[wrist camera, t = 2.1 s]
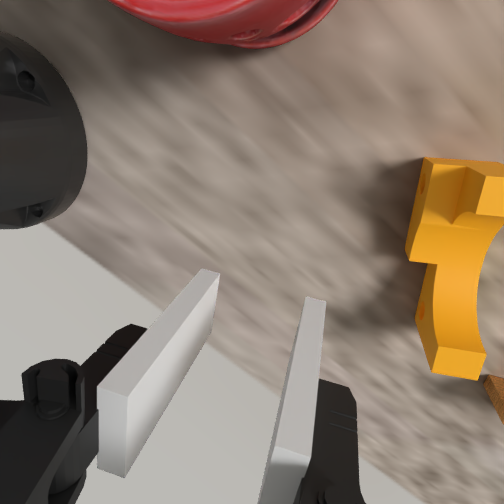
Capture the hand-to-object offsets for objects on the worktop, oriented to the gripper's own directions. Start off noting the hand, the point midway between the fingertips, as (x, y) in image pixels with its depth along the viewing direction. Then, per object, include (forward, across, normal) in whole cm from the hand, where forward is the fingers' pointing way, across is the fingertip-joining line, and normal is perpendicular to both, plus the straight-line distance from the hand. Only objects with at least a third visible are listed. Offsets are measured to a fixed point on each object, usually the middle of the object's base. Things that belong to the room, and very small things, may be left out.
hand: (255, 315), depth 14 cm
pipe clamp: (+15, +10, 0) cm, 18 cm away
